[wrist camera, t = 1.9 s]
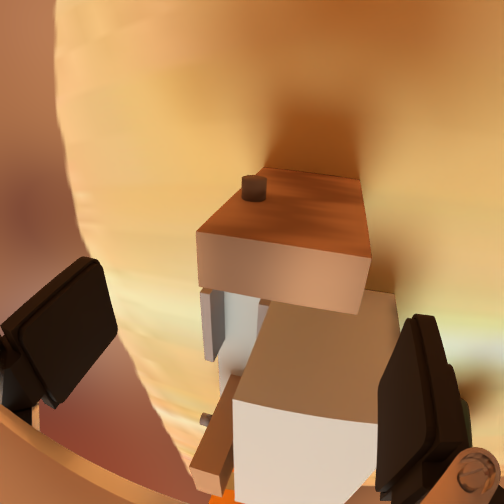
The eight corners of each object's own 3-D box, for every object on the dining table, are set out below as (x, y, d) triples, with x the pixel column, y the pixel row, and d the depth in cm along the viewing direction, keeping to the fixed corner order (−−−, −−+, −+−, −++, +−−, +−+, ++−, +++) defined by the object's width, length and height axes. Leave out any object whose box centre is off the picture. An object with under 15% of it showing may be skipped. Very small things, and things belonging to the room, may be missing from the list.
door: (361, 165, 20) (377, 232, 10) (354, 214, 21) (357, 314, 12) (264, 153, 21) (194, 206, 12) (261, 201, 23) (198, 286, 13)
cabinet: (394, 294, 23) (408, 426, 13) (343, 422, 32) (329, 518, 21) (219, 265, 26) (144, 372, 16) (223, 399, 35) (184, 485, 24)
